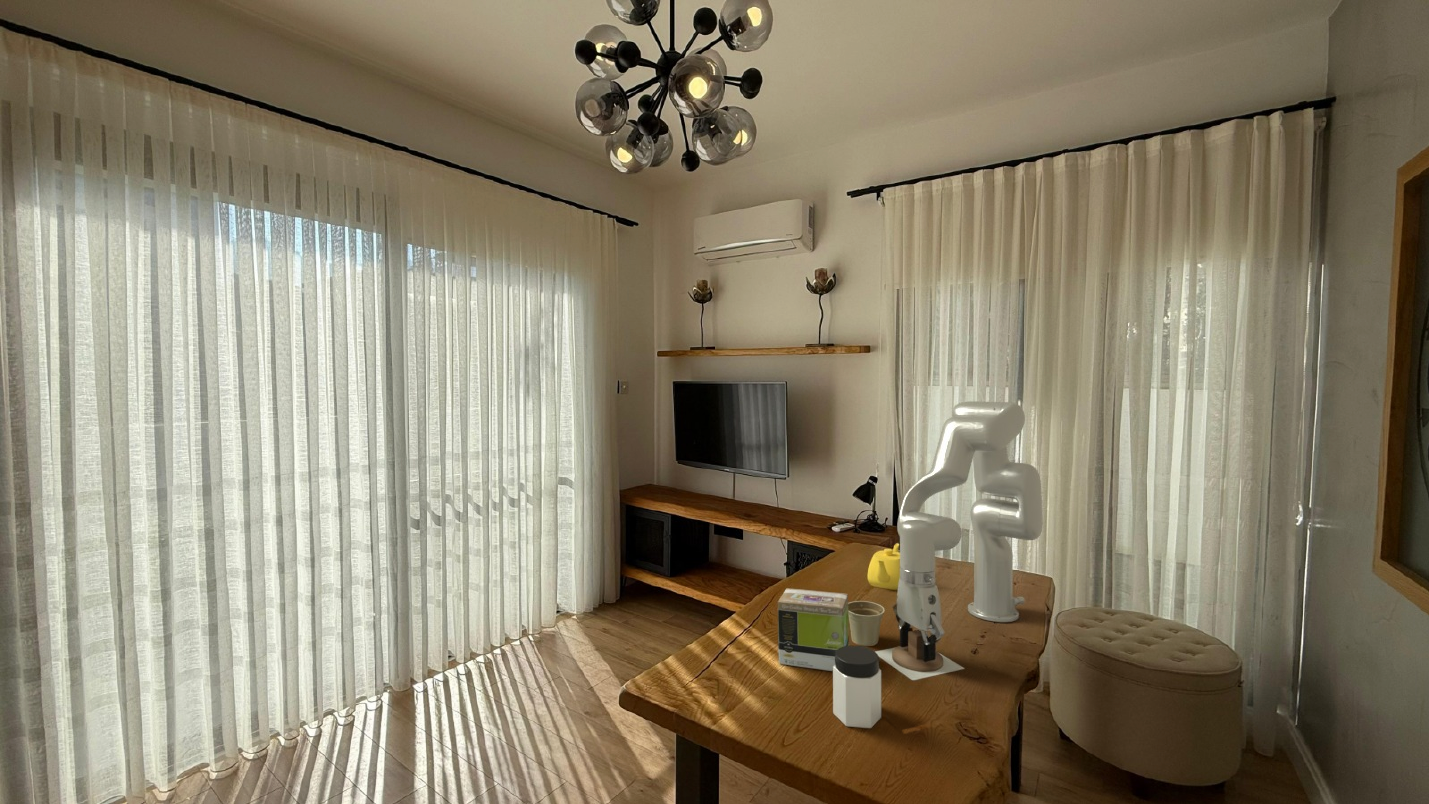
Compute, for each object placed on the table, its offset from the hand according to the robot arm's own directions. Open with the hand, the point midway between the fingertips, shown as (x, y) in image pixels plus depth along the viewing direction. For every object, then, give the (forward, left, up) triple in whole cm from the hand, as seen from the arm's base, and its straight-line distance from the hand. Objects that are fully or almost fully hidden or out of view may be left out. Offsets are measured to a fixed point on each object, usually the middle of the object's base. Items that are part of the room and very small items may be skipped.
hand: (917, 652), depth 132 cm
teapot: (-28, -45, -3) cm, 53 cm away
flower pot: (+5, -13, -3) cm, 14 cm away
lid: (0, 0, -2) cm, 2 cm away
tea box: (+21, -10, -3) cm, 23 cm away
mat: (0, 0, -2) cm, 2 cm away
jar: (+25, +13, -3) cm, 28 cm away
